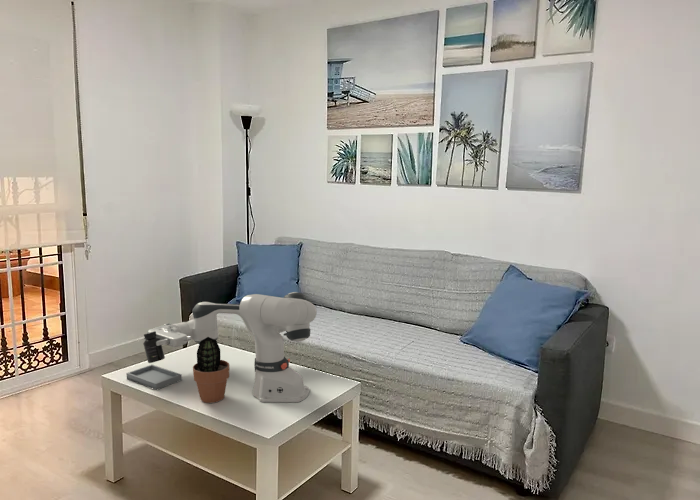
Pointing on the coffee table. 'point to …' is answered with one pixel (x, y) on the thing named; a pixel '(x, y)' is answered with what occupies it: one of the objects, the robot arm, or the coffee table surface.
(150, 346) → the supplement bottle
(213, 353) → the potted plant
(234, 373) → the coffee table surface
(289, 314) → the robot arm
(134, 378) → the grey serving tray
